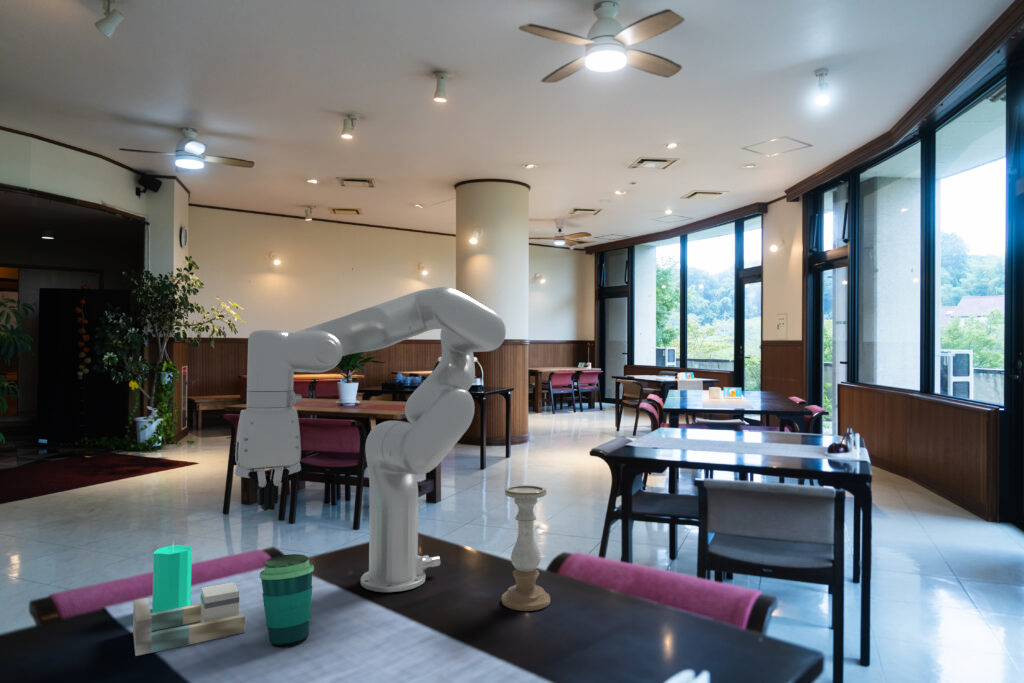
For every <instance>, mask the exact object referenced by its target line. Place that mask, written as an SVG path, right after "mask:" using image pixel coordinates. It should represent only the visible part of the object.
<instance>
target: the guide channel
mask: <svg viewBox="0 0 1024 683" xmlns="http://www.w3.org/2000/svg"><path fill="white" fill-rule="evenodd" d="M132 614H133V618H132V620H133V621H132V636H133V644H134V646H133V648H134V655H135V657H137V656H143V655H146V654H152V653H155V652H156V653H157V652H161V651H166V650H169V649H175V648H179V647H184V646H188V645H194V644H198V643H203V642H207V641H210V640H211V641H213V640H217V639H222V638H225V637H230V636H234V635H239V634H243V633H245V632H246V627H245V626H246V625H245V624H246V616H245V614H243V613H241V614H239V615H236V616H232V617H227V618H222V619H217V620H212V621H207V622H202V623H201V603H197V604H191V606H186V607H180V608H175V609H170V610H164V611H159V612H154V613H152V610H151V606H150V602H149V598H148V597H146V598H139V599H135V600H133V613H132ZM198 622H199V623H198ZM183 625H184V626H183ZM178 626H179V627H178Z"/></svg>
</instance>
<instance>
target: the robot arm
mask: <svg viewBox="0 0 1024 683" xmlns="http://www.w3.org/2000/svg"><path fill="white" fill-rule="evenodd" d="M433 330H440V338H439V339H440V344H441V358H440V361H439V363H438V365H436V367H435V368H434V369H433V371H432V372H431V373H430V374H429V375H428V376H427V377H426V378H425V379H424V380H423V382H422V383H420V385H418V387H417V388H416V389H415V390H414V391H413V392H412V393H411V394H410V396H409V397H408V398H407V401H406V403H405V406H404V415H405V417H406V420H407V421H400V420H387V421H383V422H381V423H378V424H376V425H375V426H374V427H373V428H372V429H371V430H370V432H369V434H368V435H367V438H366V441H365V449H364V450H365V458H366V464H367V471H368V480H369V481H368V482H369V510H368V512H369V520H368V521H369V522H368V524H369V528H368V530H369V533H368V535H369V536H368V539H369V541H368V545H369V546H368V571H366V572H364V573H363V574H362V576H361V577H360V585H361V586H362V588H364V589H366V590H369V591H372V592H378V593H397V592H404V591H409V590H412V589H415V588H418V587H420V586H422V585H423V584H424V583H425V582H426V572H425V571H426V570H427V568H434V567H439V566H440V565H441V558H440V556H439V555H436V556H429V554H425V555H422V556H421V555H419V485H418V479H417V475H419V476H420V475H425V474H427V473H430V472H431V471H433V470H434V469H436V467H438V466H439V465H440V463H442V461H443V460H444V459H445V458H446V456H448V454H449V453H450V452H451V450H452V449H453V448H454V446H455V445H456V444H457V443H458V441H460V440H461V438H462V437H463V435H464V434H465V433H466V432H467V431H468V429H469V427H470V426H471V424H472V422H473V419H474V415H475V408H476V407H475V402H474V399H473V396H472V394H471V393H470V392H469V390H470V388H471V387H472V386H473V384H474V382H475V378H476V368H475V367H476V366H475V365H476V364H475V357H474V353H480V352H481V353H482V352H483V353H485V352H492V351H495V350H497V349H498V348H499V347H501V345H502V344H503V343H504V341H505V339H506V331H507V330H506V325H505V323H504V321H503V319H502V317H501V316H500V315H499V314H498V313H497V312H495V311H494V310H492V309H491V308H489V307H487V306H486V305H484V304H482V303H480V302H479V301H478V300H475V299H474V298H472V297H471V296H469V295H467V294H465V293H463V291H462V292H461V291H459V290H457V289H455V288H452V287H449V286H439V287H432V288H427V289H421V290H417V291H414V292H410V293H409V294H408V293H407V294H405V295H402V296H399V297H396V298H393V299H391V300H388V301H384V302H381V303H378V304H375V305H372V306H369V307H366V308H363V309H360V310H357V311H355V312H352V313H349V314H347V315H343V316H341V317H338V318H334V319H332V320H331V319H330V320H329V321H327V320H326V321H324V322H321V323H318V324H316V325H313V326H310V327H306V328H304V329H301V330H298V331H295V332H289V331H287V330H278V329H259V330H255V331H252V332H251V333H250V334H249V336H248V341H247V364H246V365H247V367H246V368H247V370H246V372H247V374H246V378H247V379H246V408H245V409H241V410H240V413H239V419H238V425H237V431H236V432H237V433H236V442H235V455H234V457H235V458H234V459H235V464H236V465H235V468H234V475H235V476H236V477H239V478H247V479H250V480H251V481H253V482H254V483H255V484H256V485H257V505H258V506H260V508H261V509H262V510H263V511H269V510H270V511H274V510H275V504H276V505H277V504H278V501H279V486H280V485H281V483H282V482H283V481H284V480H285V479H286V477H287V476H289V475H292V474H294V473H298V472H300V471H301V470H302V467H301V463H300V462H301V457H302V446H301V444H302V443H301V431H300V421H299V414H298V410H297V408H294V406H295V404H297V403H301V402H302V401H303V400H302V399H303V397H302V394H299V393H298V394H297V393H295V391H294V380H295V379H294V375H295V373H294V372H296V373H314V374H315V373H316V374H318V373H319V374H320V373H325V372H328V371H331V370H333V369H334V368H335V367H336V366H338V364H340V362H341V360H342V358H343V357H345V356H348V355H353V354H358V353H363V352H364V353H365V352H366V353H367V352H373V351H377V350H381V349H386V348H389V347H391V346H394V345H396V344H398V343H400V342H403V341H405V340H408V339H411V338H412V337H415V336H418V335H420V334H423V333H426V332H429V331H433ZM265 469H271V472H270V478H269V479H270V480H268V482H267V479H266V470H265Z"/></svg>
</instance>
